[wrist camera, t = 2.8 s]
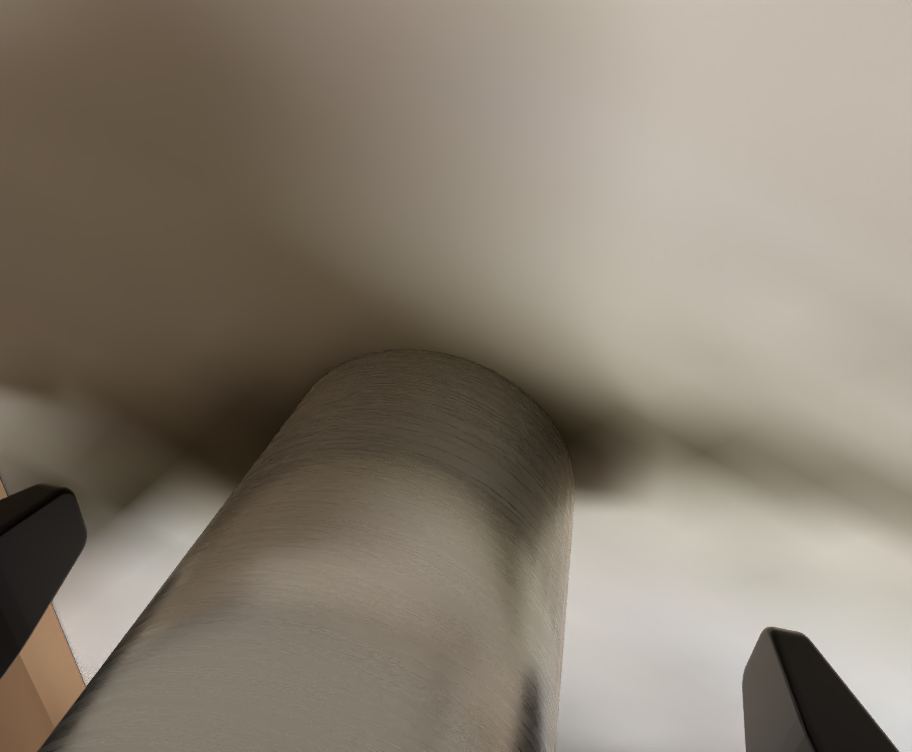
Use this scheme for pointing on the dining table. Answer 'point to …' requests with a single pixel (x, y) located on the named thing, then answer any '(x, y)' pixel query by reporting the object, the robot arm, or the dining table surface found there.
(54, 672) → the brown wooden pocket tray
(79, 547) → the robot arm
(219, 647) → the billet loose
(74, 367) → the dining table surface
